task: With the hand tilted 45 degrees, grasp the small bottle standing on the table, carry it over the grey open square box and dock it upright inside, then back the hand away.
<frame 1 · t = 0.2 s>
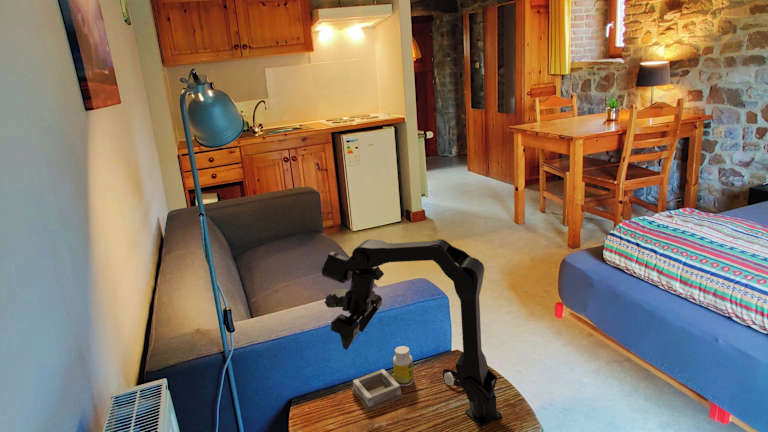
hand: (353, 339, 130), 16 cm above the table, tool pointing down, fingers open, 9 cm apart
grey open square box: (377, 394, 132), on the table
supplement bottle: (404, 381, 137), on the table
watch: (454, 382, 135), on the table
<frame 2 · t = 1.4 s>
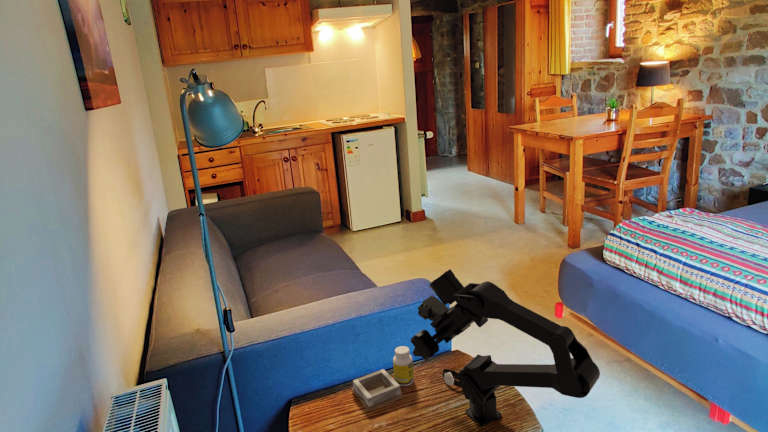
hand: (424, 346, 128), 13 cm above the table, tool tilted 45°, fingers open, 9 cm apart
nothing on the table moved.
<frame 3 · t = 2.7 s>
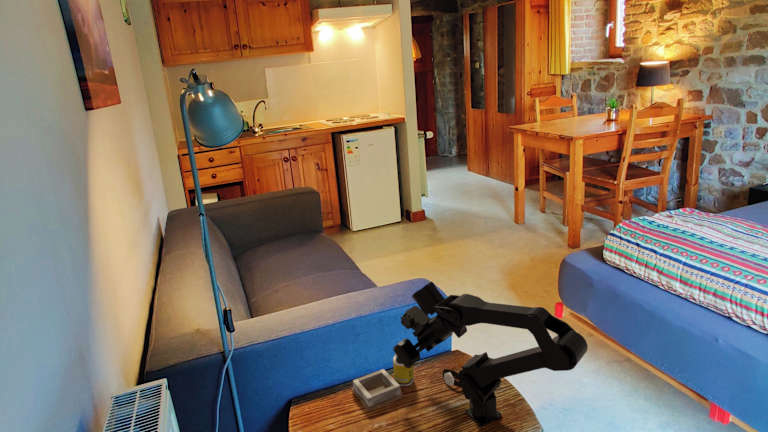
hand: (407, 353, 133), 9 cm above the table, tool tilted 45°, fingers open, 9 cm apart
nothing on the table moved.
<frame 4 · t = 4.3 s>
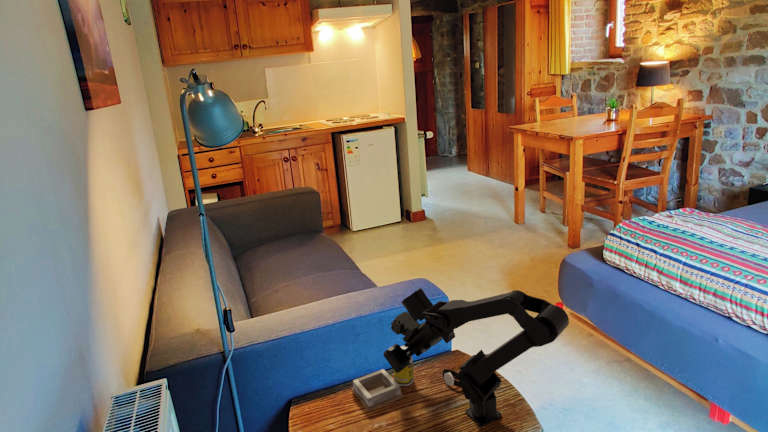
hand: (398, 358, 136), 7 cm above the table, tool tilted 45°, fingers closed on supplement bottle, 5 cm apart
supplement bottle: (404, 381, 137), on the table, touching gripper
everything else where it was.
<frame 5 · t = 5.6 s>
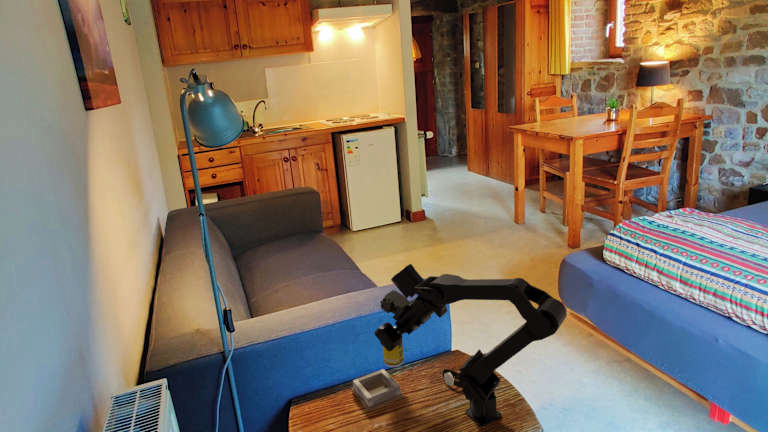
hand: (387, 339, 133), 14 cm above the table, tool tilted 45°, fingers closed on supplement bottle, 5 cm apart
supplement bottle: (394, 362, 134), point 7 cm above the table, touching gripper
everything else where it was.
when the fingers open (9 cm above the table, at t = 7.4 s): supplement bottle drops 1 cm, resting on grey open square box.
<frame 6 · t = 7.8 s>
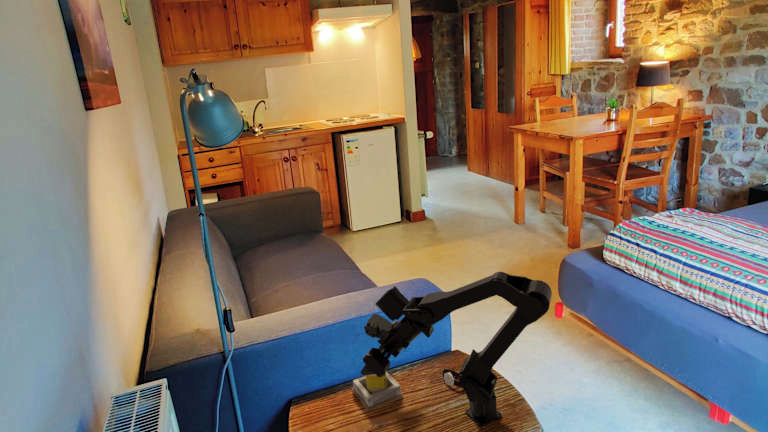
hand: (369, 363, 130), 9 cm above the table, tool tilted 45°, fingers open, 9 cm apart
supplement bottle: (377, 391, 132), point 1 cm above the table, touching grey open square box
everything else where it was.
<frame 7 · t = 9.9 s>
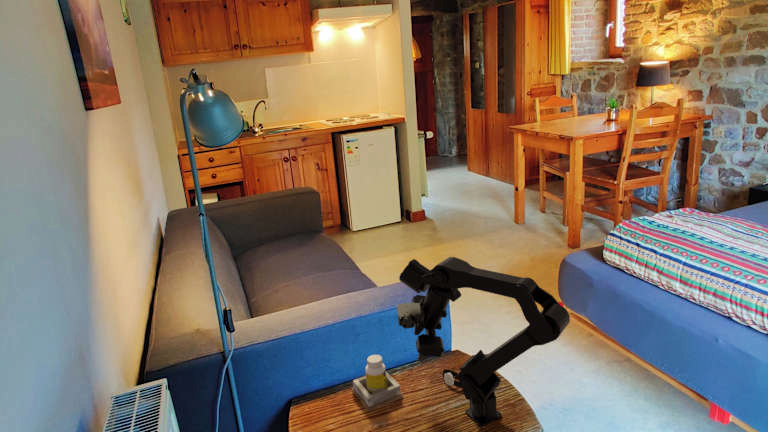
hand: (417, 347, 128), 13 cm above the table, tool tilted 25°, fingers open, 9 cm apart
nothing on the table moved.
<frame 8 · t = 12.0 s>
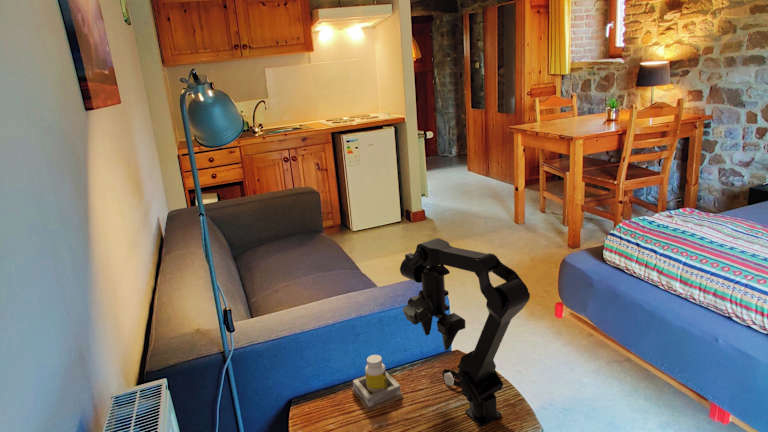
hand: (437, 342, 130), 13 cm above the table, tool pointing down, fingers open, 9 cm apart
nothing on the table moved.
at the end: supplement bottle 0.1 cm off-centre on the grey open square box, point 0.8 cm above the grey open square box's base; supplement bottle tilted 0°; the gripper is holding nothing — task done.
